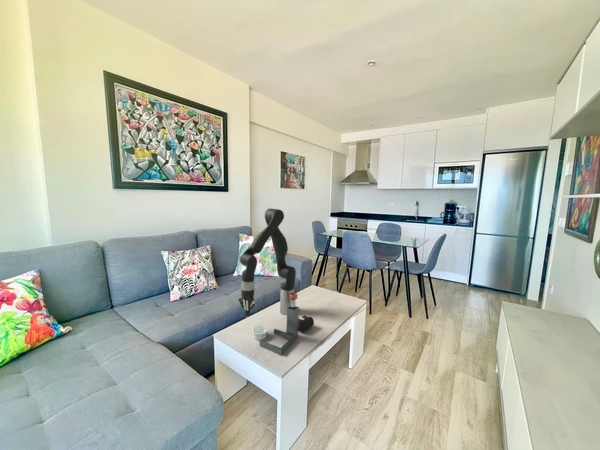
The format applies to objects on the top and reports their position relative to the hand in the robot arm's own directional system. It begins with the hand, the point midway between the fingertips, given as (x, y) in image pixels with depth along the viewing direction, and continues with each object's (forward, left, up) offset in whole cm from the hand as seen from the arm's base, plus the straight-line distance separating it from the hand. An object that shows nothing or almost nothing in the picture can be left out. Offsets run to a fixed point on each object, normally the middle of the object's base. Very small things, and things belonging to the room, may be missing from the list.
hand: (247, 315), depth 145 cm
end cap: (-21, +28, -10) cm, 36 cm away
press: (-3, +22, -10) cm, 24 cm away
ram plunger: (-10, +26, +5) cm, 28 cm away
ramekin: (0, +10, -10) cm, 14 cm away
